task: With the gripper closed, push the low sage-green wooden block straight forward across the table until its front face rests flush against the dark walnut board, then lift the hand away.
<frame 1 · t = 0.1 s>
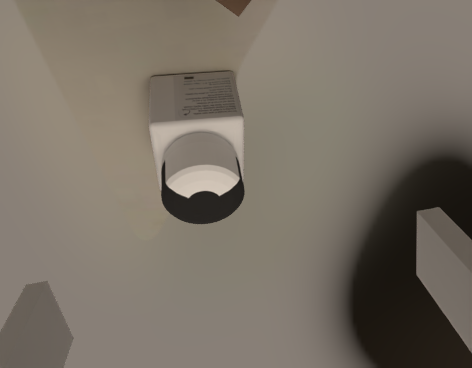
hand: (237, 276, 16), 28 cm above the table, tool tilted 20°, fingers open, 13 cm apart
container: (194, 106, 44), on the table
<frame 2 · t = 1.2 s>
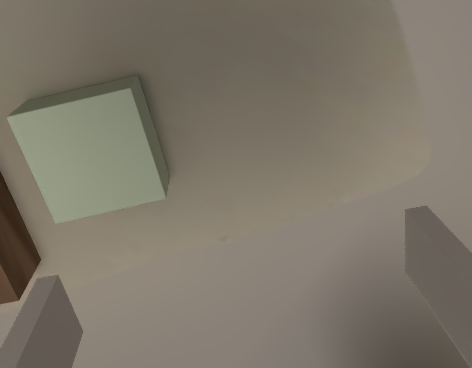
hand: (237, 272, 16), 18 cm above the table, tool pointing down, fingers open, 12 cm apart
block: (102, 139, 33), on the table
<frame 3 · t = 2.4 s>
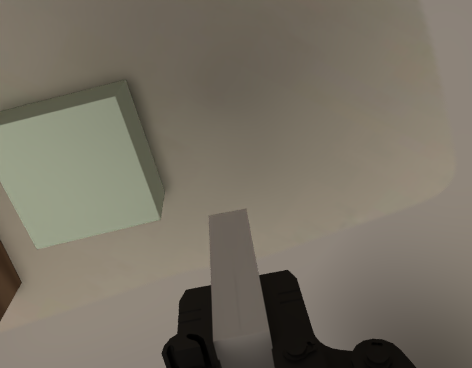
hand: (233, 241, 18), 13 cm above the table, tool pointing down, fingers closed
block: (88, 152, 29), on the table
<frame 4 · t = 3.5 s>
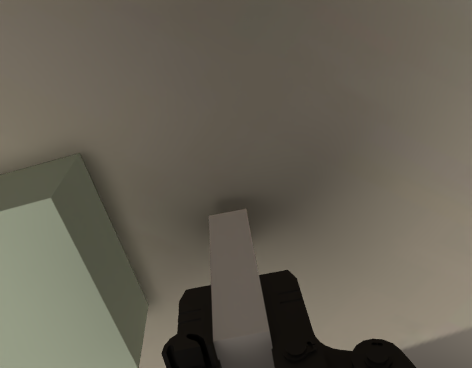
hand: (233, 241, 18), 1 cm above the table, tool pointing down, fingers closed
block: (31, 255, 20), on the table
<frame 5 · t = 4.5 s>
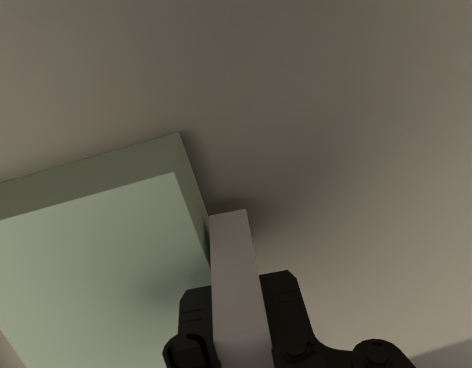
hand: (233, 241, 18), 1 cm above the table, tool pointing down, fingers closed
block: (121, 238, 19), on the table, touching gripper
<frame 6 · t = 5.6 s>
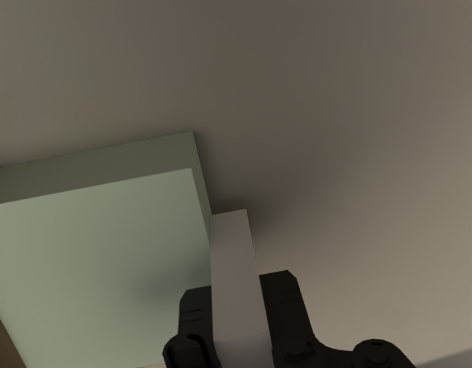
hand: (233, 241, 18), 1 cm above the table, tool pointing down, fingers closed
block: (122, 230, 19), on the table
board: (9, 264, 19), on the table
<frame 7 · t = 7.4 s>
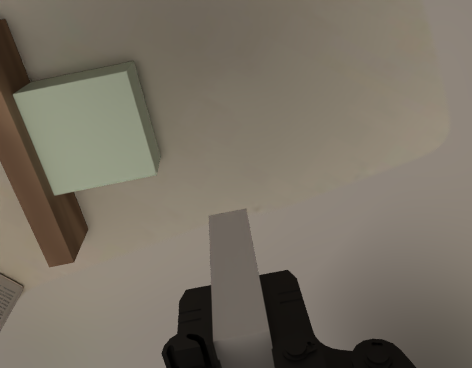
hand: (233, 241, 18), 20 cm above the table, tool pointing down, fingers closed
block: (99, 120, 36), on the table
board: (39, 138, 36), on the table
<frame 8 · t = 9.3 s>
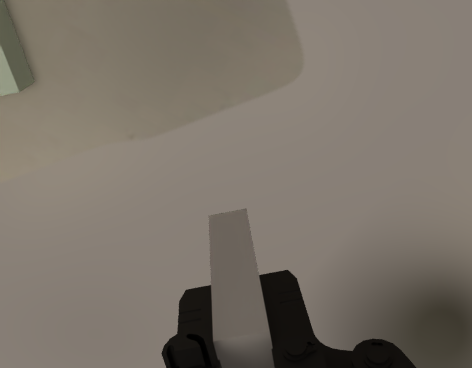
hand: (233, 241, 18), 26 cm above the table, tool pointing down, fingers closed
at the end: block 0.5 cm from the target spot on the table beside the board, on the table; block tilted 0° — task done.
